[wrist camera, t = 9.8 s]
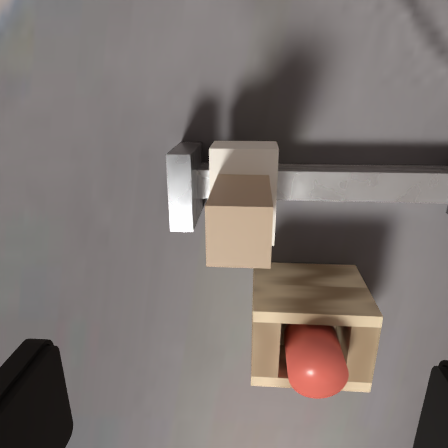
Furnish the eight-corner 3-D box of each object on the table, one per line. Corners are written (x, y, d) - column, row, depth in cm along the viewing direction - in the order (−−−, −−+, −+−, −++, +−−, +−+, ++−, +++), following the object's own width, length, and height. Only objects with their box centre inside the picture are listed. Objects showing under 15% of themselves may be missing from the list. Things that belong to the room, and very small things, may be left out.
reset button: (338, 315, 26) (351, 352, 22) (333, 358, 27) (345, 400, 23) (285, 312, 26) (289, 349, 22) (282, 355, 27) (286, 396, 24)
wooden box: (355, 265, 30) (383, 316, 23) (346, 328, 32) (370, 392, 25) (253, 261, 30) (253, 311, 24) (252, 324, 33) (250, 385, 26)
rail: (484, 144, 26) (534, 158, 21) (467, 213, 28) (510, 240, 23) (180, 141, 28) (165, 154, 23) (183, 207, 29) (170, 231, 25)
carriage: (276, 141, 24) (286, 173, 16) (272, 228, 26) (279, 297, 18) (214, 140, 25) (192, 172, 16) (215, 226, 27) (196, 293, 18)
